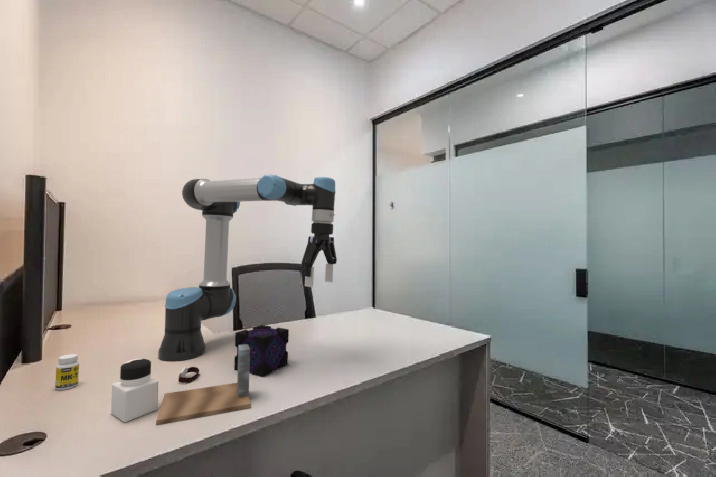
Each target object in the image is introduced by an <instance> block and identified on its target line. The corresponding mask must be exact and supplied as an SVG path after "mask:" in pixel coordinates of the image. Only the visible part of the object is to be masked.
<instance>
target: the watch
mask: <svg viewBox="0 0 716 477" xmlns="http://www.w3.org/2000/svg"><path fill="white" fill-rule="evenodd" d="M188 373H194V374H193V375H192V376H190V377H186V375H187V374H188ZM199 373H200V368H198V367H196V366H190V367H187V366H185V367H183V368H182V369H181V371H180V374H179V376H178V380H177V381H178V382H179V383H182V384H188V383H187V382H189V383H191V382H193V381H195V380H196V379H197V378H198V377H197V376H199ZM195 378H196V379H195ZM194 379H195V380H194ZM192 380H193V381H192ZM190 381H191V382H190Z"/></svg>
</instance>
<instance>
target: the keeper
mask: <svg viewBox="0 0 716 477" xmlns="http://www.w3.org/2000/svg"><path fill="white" fill-rule="evenodd" d="M249 367H250V348H249V345H248V344H244V345H238V371H237V381H236V382H234V383H227V384H219V385H211V386H207V387H201V388H193V389H186V390H178V391H172V392H167V393H166V392H165V393H164V394H163V398H162V401H161V405H160V407H159V411H158V414H157V418H156V420H155V422H156V423H155V425H156V426H159V425H165V424H168V423H169V424H171V423H174V422H175V423H176V422H180V421H181V422H182V421H187V420H191V419H192V420H193V419H197V418H202V417H208V416H214V415H218V414H219V415H220V414H224V413H230V412H235V411H241V410H247V409H250V408H251V407H252V406H251V405H252V404H251V403H252V402H251V400H250V372H249Z"/></svg>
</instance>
